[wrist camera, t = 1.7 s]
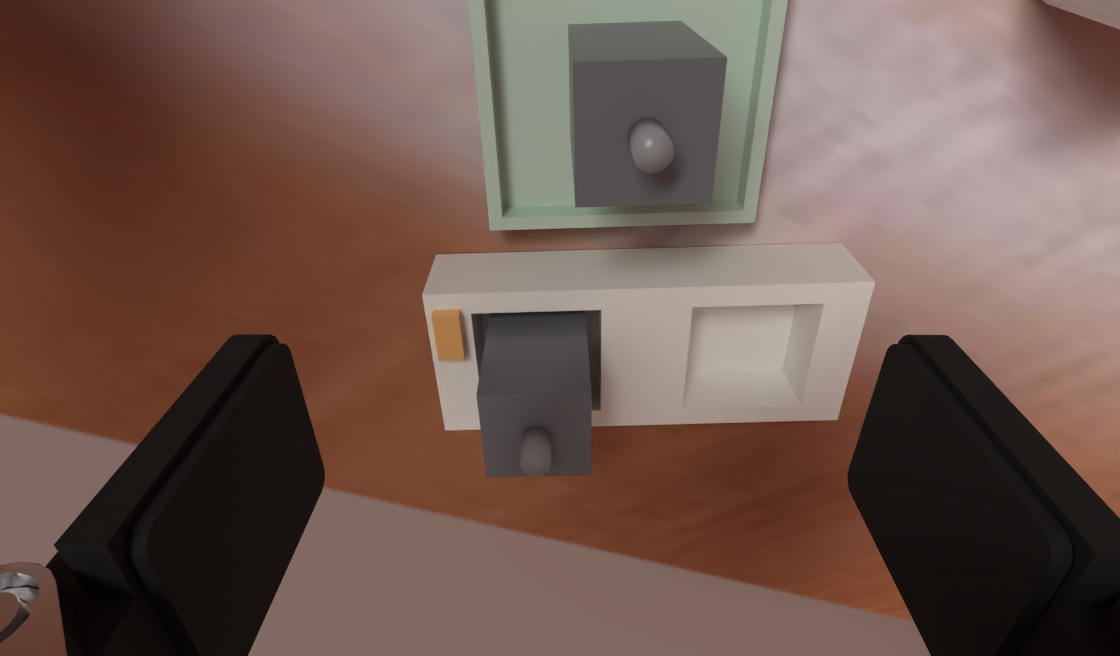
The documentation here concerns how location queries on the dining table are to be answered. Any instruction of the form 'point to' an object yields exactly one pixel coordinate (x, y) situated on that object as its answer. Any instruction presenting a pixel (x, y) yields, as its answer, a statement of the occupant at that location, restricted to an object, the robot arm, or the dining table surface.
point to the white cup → (1092, 9)
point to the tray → (544, 106)
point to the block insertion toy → (638, 342)
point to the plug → (643, 113)
